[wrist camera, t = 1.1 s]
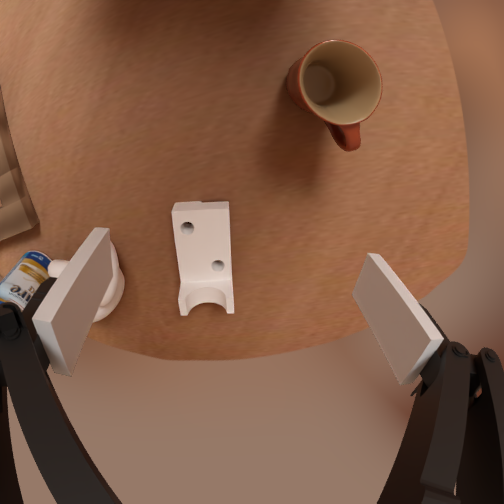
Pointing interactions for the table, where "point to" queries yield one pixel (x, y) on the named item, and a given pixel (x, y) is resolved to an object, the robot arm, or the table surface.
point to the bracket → (203, 254)
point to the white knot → (113, 289)
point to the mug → (337, 88)
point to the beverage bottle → (24, 278)
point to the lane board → (12, 187)
